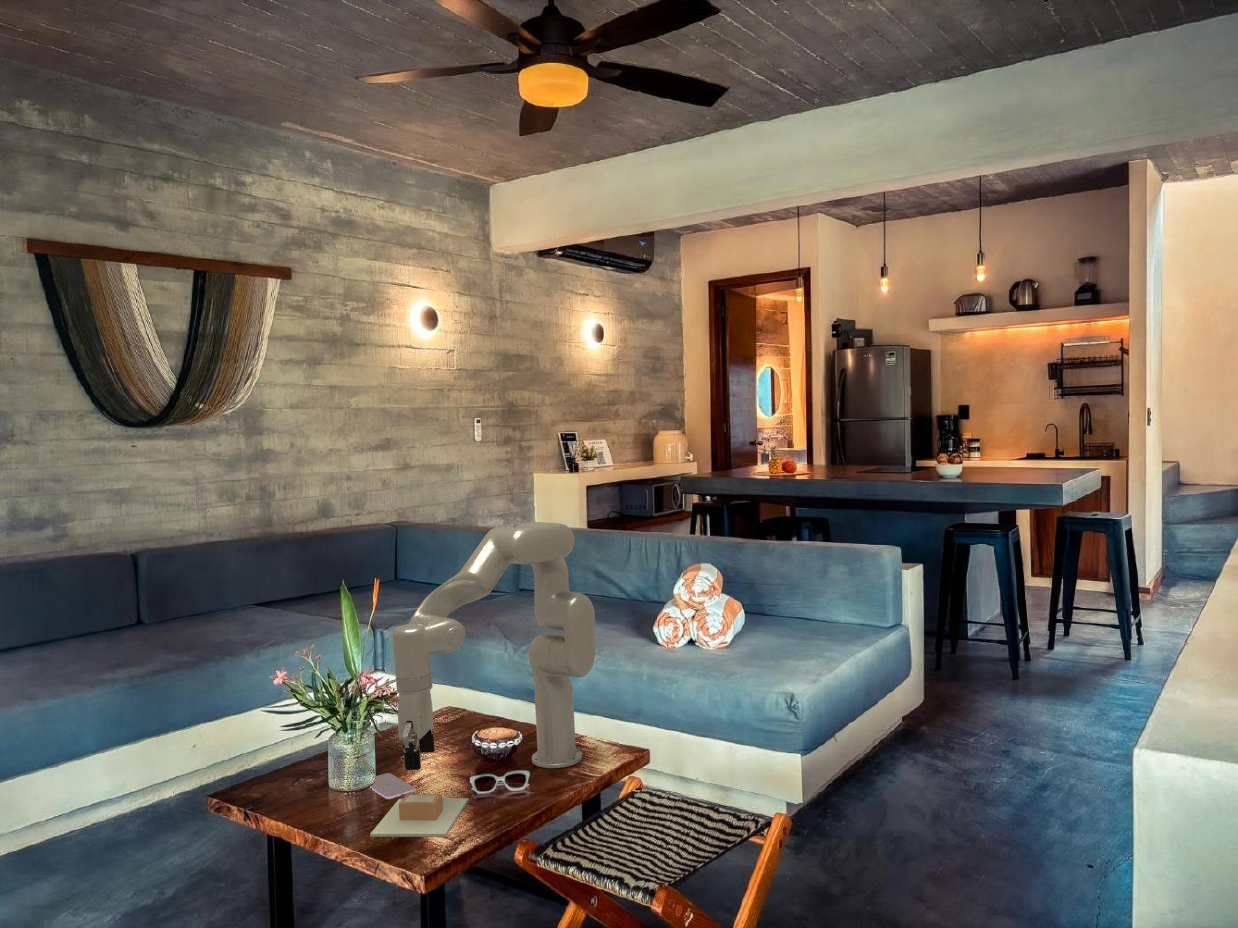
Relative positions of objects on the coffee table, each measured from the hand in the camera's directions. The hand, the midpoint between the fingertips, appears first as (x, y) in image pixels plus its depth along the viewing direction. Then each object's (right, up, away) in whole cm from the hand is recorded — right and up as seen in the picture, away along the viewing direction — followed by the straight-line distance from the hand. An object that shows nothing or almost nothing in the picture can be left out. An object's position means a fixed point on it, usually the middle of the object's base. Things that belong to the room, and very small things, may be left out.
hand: (420, 760), depth 199 cm
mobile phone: (-12, -13, +19) cm, 26 cm away
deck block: (0, -12, 0) cm, 12 cm away
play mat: (0, -12, 0) cm, 12 cm away
